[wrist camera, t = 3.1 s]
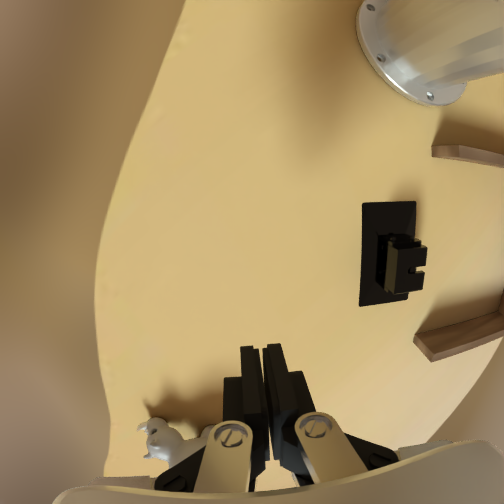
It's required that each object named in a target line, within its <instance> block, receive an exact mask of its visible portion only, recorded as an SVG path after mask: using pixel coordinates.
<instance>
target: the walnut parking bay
mask: <svg viewBox="0 0 504 504" xmlns="http://www.w3.org/2000/svg"><path fill="white" fill-rule="evenodd" d="M432 157H438V158H446V159H453V160H460V161H467V162H473V163H479V164H484V165H490V166H495V167H500V168H504V155H502V154H498V153H494V152H490V151H486V150H481V149H477V148H472V147H467V146H462V145H443V146H432ZM502 336H504V290H503V294H502V298H501V302H500V306H499V310H498V311H497V312H494V313H491V314H488V315H485V316H482V317H479V318H475V319H472V320H469V321H465V322H462V323H458V324H455V325H451V326H447V327H443V328H440V329H436V330H432V331H428V332H423V333H419V334H415V336H414V341H413V343H414V344H415V345H416V346H417V347H418V348H419V349H420V350H421V352H422V353H423V354H424V355H425V356H426V357H427V358H428V359H429V361H430V362H434V361H438V360H441V359H444V358H447V357H450V356H453V355H456V354H459V353H462V352H464V351H467V350H470V349H473V348H475V347H478V346H480V345H483V344H486V343H488V342H491V341H493V340H495V339H498V338H500V337H502Z"/></svg>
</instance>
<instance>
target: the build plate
mask: <svg viewBox="0 0 504 504" xmlns="http://www.w3.org/2000/svg"><path fill="white" fill-rule="evenodd" d="M415 225H416V201H399V202H368V203H363V204H362V254H361V278H360V294H359V306H360V307H362V306H369V305H376V304H383V303H390V302H396V301H402V300H407V299H408V294H409V292H412V291H418V290H422V289H423V282H424V275H425V272H423V271H416V267H420V266H425V265H426V258H427V247H426V246H424V245H422V244H421V240H419V239H417V238H415Z"/></svg>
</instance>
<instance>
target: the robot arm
mask: <svg viewBox="0 0 504 504" xmlns="http://www.w3.org/2000/svg"><path fill="white" fill-rule="evenodd" d="M356 31H357V36H358V40H359V42H360V45H361V48H362V50H363V52H364V54H365V55H366V57H367V59H368V61H369V62H370V64H371V65H372V66H373V68H374V69H375V70H376V72H377V73H378V74H379V75H380V76H381V77H382V78H383V80H384V81H385V82H386V83H387V84H389V85H390V86H391V87H392V88H393V89H394V90H396V91H397V92H398V93H400V94H401V95H403V96H404V97H406V98H407V99H409V100H411V101H414V102H416V103H418V104H421V105H425V106H429V107H439V106H445V105H448V104H451V103H454V102H455V101H456V100H458V99H459V98H460V97H461V95H462V94H463V92H464V91H465V88H466V85H467V82H469V81H472V80H476V79H480V78H484V77H488V76H492V75H496V74H501V73H504V0H365V1H364V2H363V3H362V4H361V6H360V7H359V9H358V12H357V15H356ZM262 350H263V372H264V382H263V375H262V368H261V362H260V355H259V349H253V346H241V347H240V352H241V372H242V377H225V378H224V391H223V422H221V423H219V424H217V425H216V426H214V427H213V428H212V430H211V431H210V433H209V437H208V441H207V444H206V445H205V446H204V447H202V448H201V449H199V450H198V451H196V452H195V453H193V454H192V455H190V456H189V457H187V458H186V459H184V460H183V461H181V462H180V463H178V464H176V465H175V466H173V467H172V468H170V469H168V470H167V471H165V472H163V473H162V474H161V475H159V476H158V477H156V478H150V476H134V477H99V478H95V479H94V480H92V481H91V482H90V483H89V484H88V486H84V487H77V488H73V489H69V490H66V491H64V492H62V493H61V494H60V495H59V496H58V497H57V498H56V499H55V500H54V502H53V503H52V504H504V453H503V452H502V451H501V450H500V449H499V448H498V447H496V446H495V445H494V444H492V443H490V442H488V441H484V440H468V441H461V442H456V443H453V442H452V441H448V440H439V441H435V442H430V443H425V444H420V445H414V446H408V447H401V448H398V450H397V451H393V450H391V449H389V448H386V447H383V446H380V445H377V444H374V443H371V442H368V441H365V440H362V439H360V438H357V437H354V436H351V435H349V434H346V433H343V431H342V430H341V428H340V427H339V425H338V423H337V422H336V420H335V419H334V418H333V417H332V416H330V415H328V414H326V413H322V412H316V409H315V406H314V404H313V401H312V398H311V395H310V392H309V389H308V386H307V383H306V380H305V377H304V375H303V372H302V371H294V372H288V369H287V365H286V362H285V358H284V354H283V351H282V347H281V344H280V343H277V344H267V348H263V349H262ZM269 430H270V437H271V443H272V450H273V456H274V460H280V466H283V468H285V469H287V470H289V471H291V473H292V477H293V480H294V482H295V484H296V487H294V488H287V489H279V490H270V491H258V492H256V486H257V476H258V475H259V474H261V473H262V472H263V471H264V470H265V469H266V468H265V461H270V450H269Z"/></svg>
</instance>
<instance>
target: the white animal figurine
mask: <svg viewBox="0 0 504 504" xmlns="http://www.w3.org/2000/svg"><path fill="white" fill-rule="evenodd" d="M214 426H215V425H209V426H207V427H205V428H204V430H203V431H202V433H201V436H200V438H193V439H189V440H184V439H183V438H182V436H181V434H180V433H179V432H178V431H177V430H175V429H174V428H171V427H169V426H168V424H167V423H166V421H165V420H163V419H161V418H158V417H154V418H151V419H149V420H148V421H147V422H144V423H141V424H140V425H139V426H138V427H137V431H139V430H141V429H144V430H145V431H144V432H145V433H147V435H148V439H147V442H146V444H147V448H148V451H149V453H148V454H147V455H145V456H144V458H145V459H150V458H154V457H155V458H158V459H160V460H165V461H167V462H168V463H169V469H170V468H172V467H173V466H175V465H176V464H178V463H180V462H181V461H183V460H184V459H186V458H187V457H189V456H190V455H192V454H193V453H195V452H196V451H198V450H199V449H201V448H202V447H204V446H205V445H206V444H207V441H208V437H209V433H210V431H211V430H212V428H213V427H214Z"/></svg>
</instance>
